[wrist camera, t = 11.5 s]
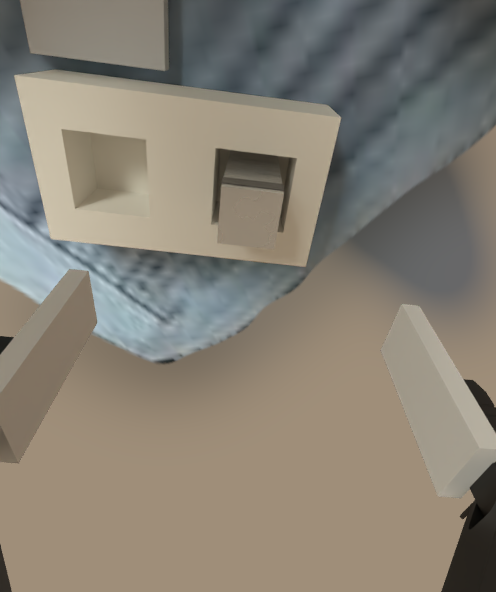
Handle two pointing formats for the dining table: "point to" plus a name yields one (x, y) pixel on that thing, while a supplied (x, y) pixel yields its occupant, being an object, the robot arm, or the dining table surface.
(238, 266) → the dining table surface
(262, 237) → the plug
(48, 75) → the port box
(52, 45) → the beige flat square plate
